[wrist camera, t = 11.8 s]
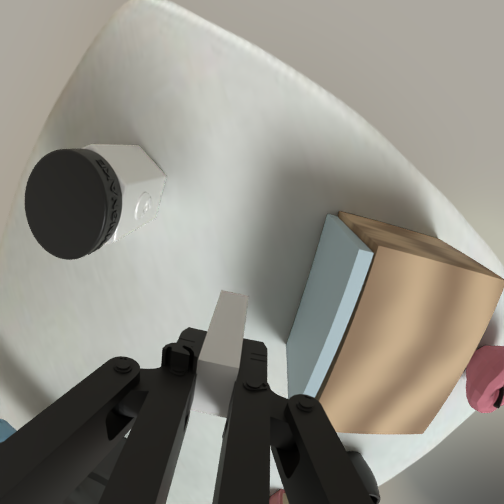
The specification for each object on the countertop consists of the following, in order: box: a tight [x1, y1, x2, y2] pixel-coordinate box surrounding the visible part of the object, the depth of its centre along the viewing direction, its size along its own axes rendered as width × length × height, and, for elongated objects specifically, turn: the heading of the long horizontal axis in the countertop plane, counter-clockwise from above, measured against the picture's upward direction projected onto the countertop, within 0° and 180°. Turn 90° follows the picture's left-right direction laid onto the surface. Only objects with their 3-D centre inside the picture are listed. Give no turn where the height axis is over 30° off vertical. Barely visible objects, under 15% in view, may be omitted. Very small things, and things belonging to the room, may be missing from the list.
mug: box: [347, 451, 380, 504], centre depth 36 cm, size 8×12×10 cm
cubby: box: [315, 211, 504, 434], centre depth 26 cm, size 12×16×12 cm
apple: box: [466, 345, 504, 413], centre depth 29 cm, size 10×9×10 cm
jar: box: [25, 144, 167, 260], centre depth 25 cm, size 9×8×12 cm
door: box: [286, 214, 374, 399], centre depth 26 cm, size 1×16×12 cm, turn 167°
